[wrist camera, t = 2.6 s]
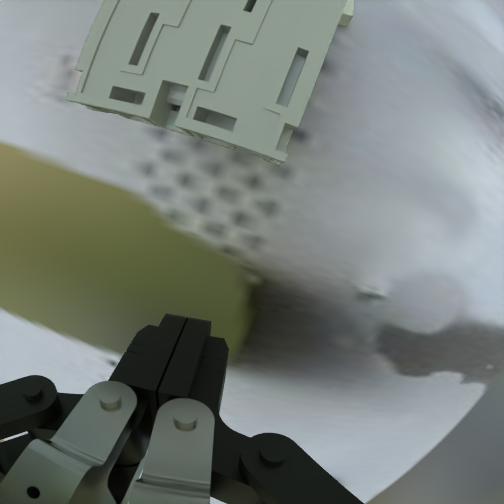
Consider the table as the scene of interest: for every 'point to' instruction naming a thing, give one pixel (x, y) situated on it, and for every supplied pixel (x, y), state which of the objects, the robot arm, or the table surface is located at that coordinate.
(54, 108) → the table surface
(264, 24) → the circuit breaker
